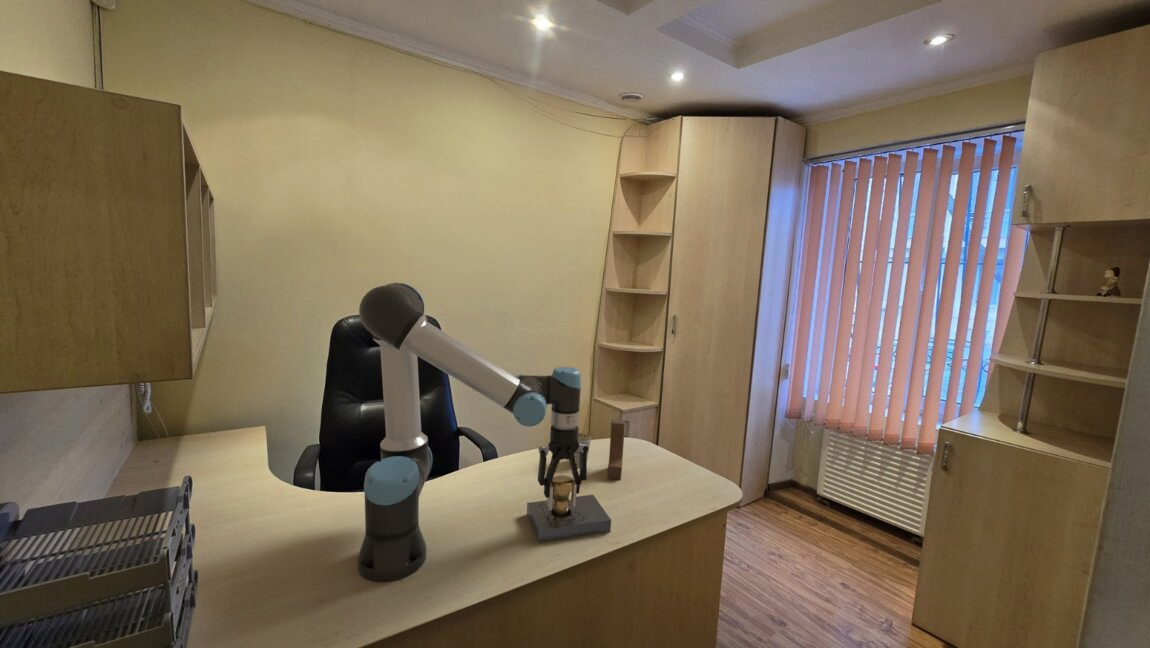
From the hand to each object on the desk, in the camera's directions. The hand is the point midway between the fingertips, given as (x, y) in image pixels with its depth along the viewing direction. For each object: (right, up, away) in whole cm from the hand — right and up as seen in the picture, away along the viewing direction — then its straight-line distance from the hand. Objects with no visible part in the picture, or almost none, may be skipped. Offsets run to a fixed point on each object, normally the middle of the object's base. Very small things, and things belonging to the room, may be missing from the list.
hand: (561, 505), depth 129 cm
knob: (0, -4, 0) cm, 4 cm away
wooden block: (+18, -2, +33) cm, 37 cm away
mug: (+5, 0, +41) cm, 42 cm away
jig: (+2, -5, +1) cm, 6 cm away
